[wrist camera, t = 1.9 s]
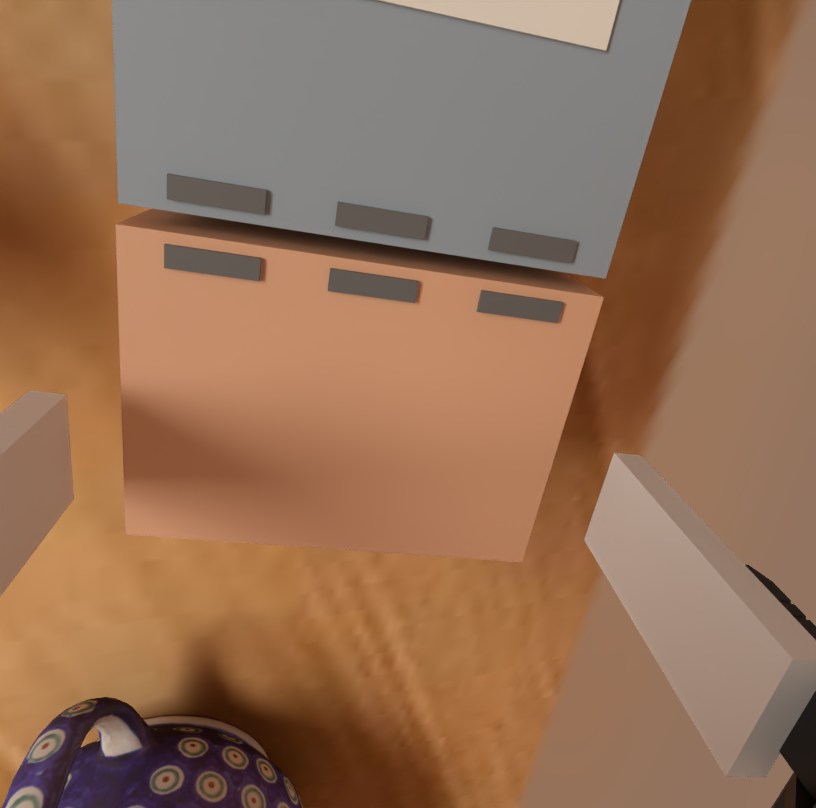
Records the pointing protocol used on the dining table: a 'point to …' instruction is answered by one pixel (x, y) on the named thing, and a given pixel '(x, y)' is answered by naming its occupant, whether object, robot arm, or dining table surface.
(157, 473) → the salmon pink box
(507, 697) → the dining table surface
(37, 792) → the teapot
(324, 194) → the handheld gadget case
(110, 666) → the dining table surface
